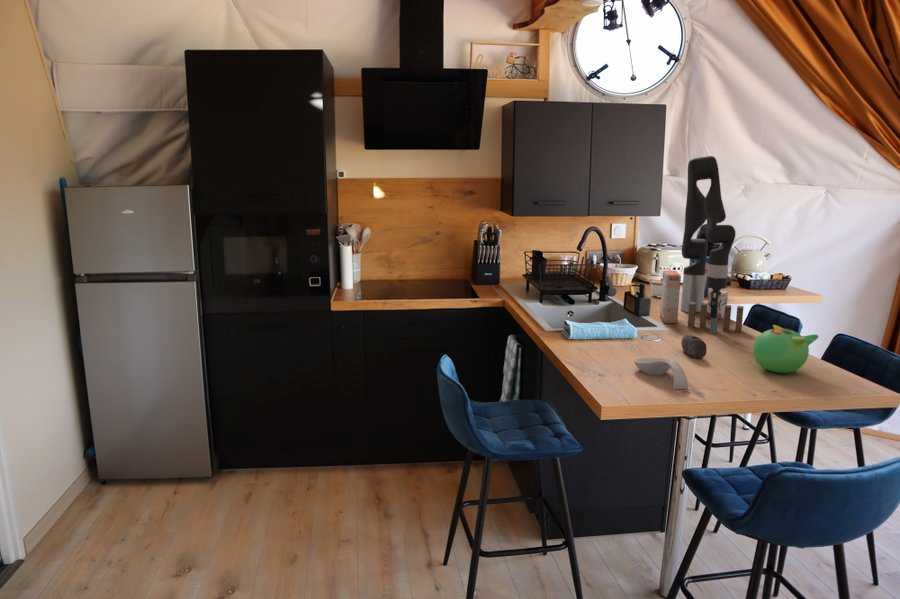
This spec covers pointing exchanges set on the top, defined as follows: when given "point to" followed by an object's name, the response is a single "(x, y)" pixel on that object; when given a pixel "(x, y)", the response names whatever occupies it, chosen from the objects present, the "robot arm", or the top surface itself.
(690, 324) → the domino
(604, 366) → the top surface
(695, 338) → the perforated stone tool
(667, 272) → the cracker box
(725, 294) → the ink box
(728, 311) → the domino
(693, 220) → the robot arm
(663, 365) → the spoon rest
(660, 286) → the lidded jar
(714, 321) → the domino
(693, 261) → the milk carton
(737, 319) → the domino
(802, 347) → the toy bird
